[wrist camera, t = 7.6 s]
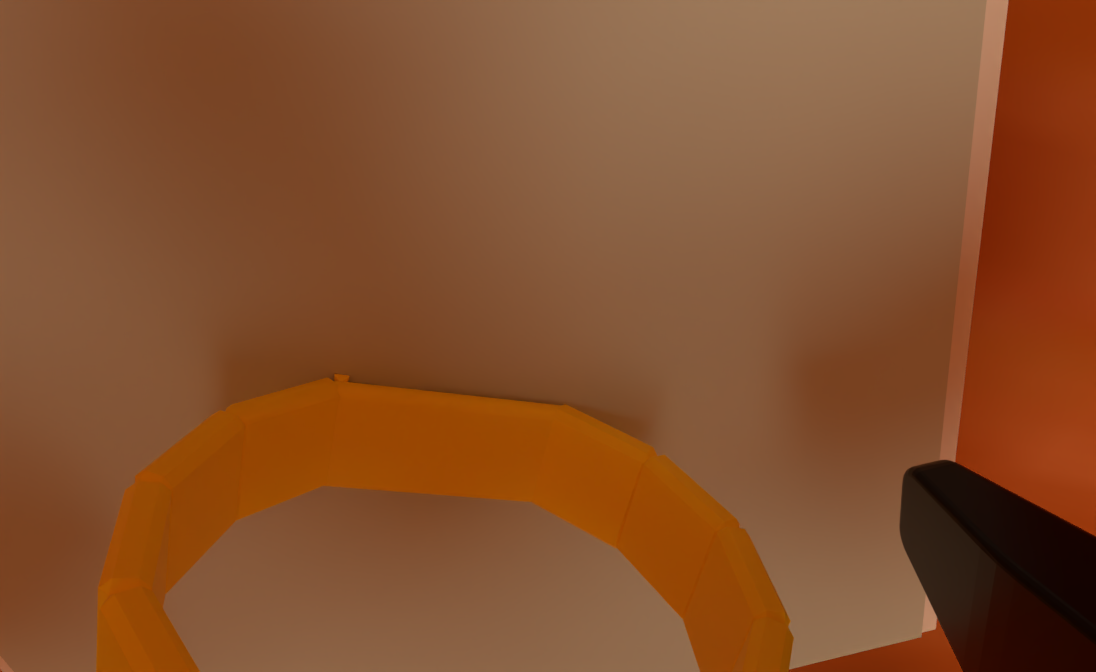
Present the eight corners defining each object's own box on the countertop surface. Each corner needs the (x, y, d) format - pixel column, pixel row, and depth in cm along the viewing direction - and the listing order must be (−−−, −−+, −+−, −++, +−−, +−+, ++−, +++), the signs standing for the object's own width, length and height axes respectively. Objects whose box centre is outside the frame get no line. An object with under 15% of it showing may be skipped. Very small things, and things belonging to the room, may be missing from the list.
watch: (192, 494, 11) (-69, 1076, 5) (208, 289, 10) (-104, 765, 4) (653, 551, 12) (822, 1077, 6) (716, 374, 11) (983, 833, 5)
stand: (844, 488, 18) (947, 648, 15) (179, 647, 18) (128, 849, 14) (862, -364, 10) (1089, -438, 7) (-323, -114, 10) (-692, -65, 6)
